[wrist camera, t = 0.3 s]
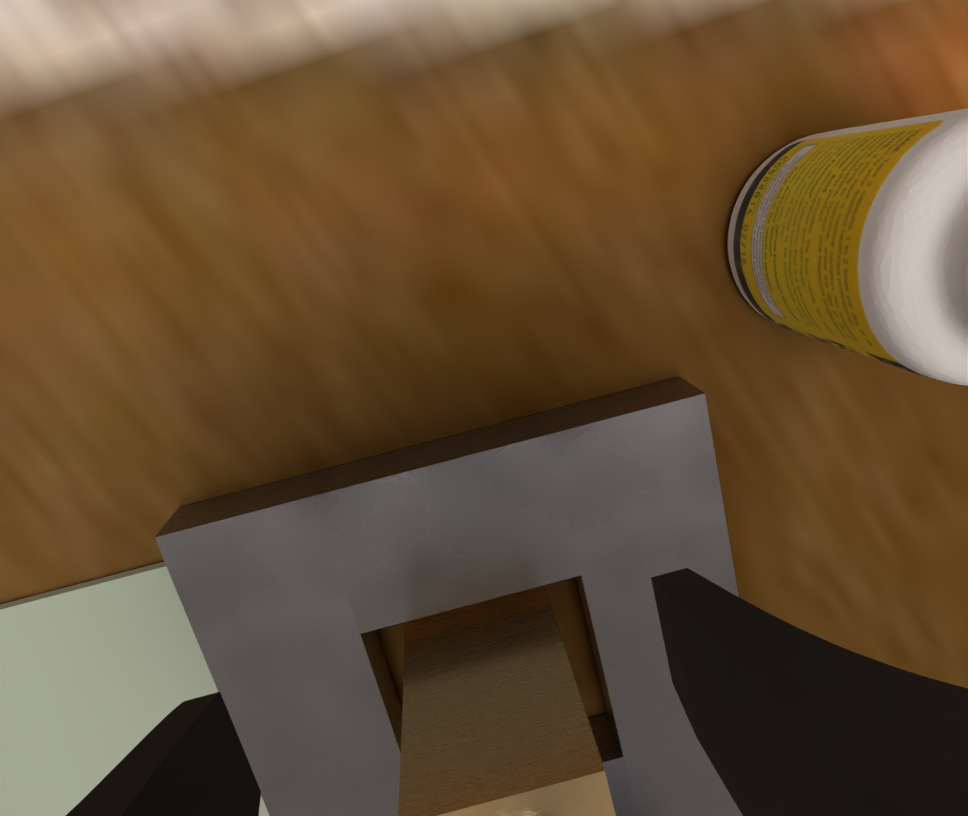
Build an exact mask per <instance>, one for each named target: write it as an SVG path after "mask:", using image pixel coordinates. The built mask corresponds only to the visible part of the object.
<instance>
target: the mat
mask: <svg viewBox="0 0 968 816" xmlns="http://www.w3.org/2000/svg"><path fill="white" fill-rule="evenodd" d="M217 692H218V690H217V687H216V685H215V683H214V680H213V678H212V675H211V673H210V671H209V668H208V666H207V663H206V661H205V658H204V656H203V654H202V651H201V649H200V646H199V644H198V642H197V639H196V637H195V634H194V632H193V629H192V627H191V625H190V622H189V620H188V617H187V615H186V613H185V610H184V608H183V605H182V603H181V600H180V598H179V596H178V593H177V591H176V588H175V586H174V584H173V581H172V579H171V576H170V574H169V572H168V569H167V567H166V564H165V562H160V563H156V564H152V565H149V566H145V567H141V568H137V569H133V570H130V571H126V572H122V573H118V574H114V575H110V576H107V577H103V578H99V579H95V580H91V581H88V582H84V583H80V584H76V585H72V586H69V587H65V588H61V589H57V590H53V591H49V592H46V593H42V594H38V595H34V596H30V597H27V598H23V599H19V600H15V601H11V602H8V603H4V604H0V816H66V815H67V814H68V813H69V812H70V811H71V810H72V809H73V808H74V807H75V806H76V805H77V804H78V803H79V802H81V801H82V800H83V799H84V798H85V797H86V796H87V795H88V794H89V793H90V792H91V791H92V790H93V789H94V788H95V787H96V786H97V785H98V784H99V783H100V782H101V781H102V780H103V779H104V778H105V777H106V776H107V775H108V774H109V773H110V772H111V771H112V770H113V769H114V768H115V767H116V766H117V765H118V764H119V763H120V762H121V761H122V760H123V759H124V758H125V757H126V756H127V755H128V754H129V753H130V752H131V751H132V750H133V749H134V747H135V746H136V745H137V744H138V743H139V742H140V741H141V740H142V739H143V738H144V737H145V736H146V735H147V734H148V733H149V732H150V731H152V730H153V729H154V728H155V727H156V726H157V725H158V724H159V723H160V722H161V721H162V720H163V719H164V718H165V717H166V716H167V715H168V714H169V713H170V712H172V711H173V710H174V709H175V708H176V707H177V706H179V705H180V704H181V703H182V702H183V701H187V700H191V699H194V698H198V697H202V696H206V695H209V694H213V693H217ZM259 816H270V815H269V813H268V811H267V808H266V806H265V803H264V801H263V798H262V796H261V799H260V807H259Z"/></svg>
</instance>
